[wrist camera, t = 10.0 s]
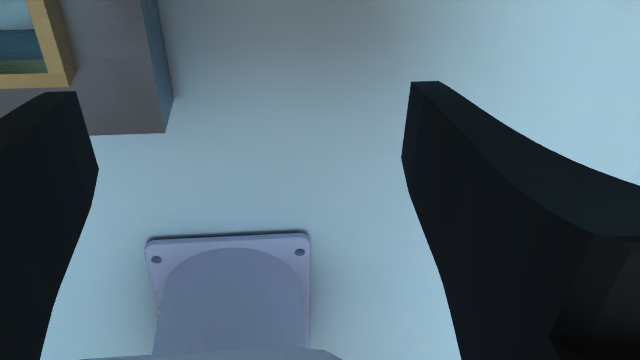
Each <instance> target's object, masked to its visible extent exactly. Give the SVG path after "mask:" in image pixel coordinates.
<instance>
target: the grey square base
mask: <svg viewBox="0 0 640 360" xmlns="http://www.w3.org/2000/svg"><path fill="white" fill-rule="evenodd" d="M25 1H26V5H27V8H28V11H29V14H30V17H31V20H32V23H33V26H34V30H15V31H0V118H1V117H3V116H4V115H6V114H8V113H9V112H11V111H12V110H14V109H16V108H17V107H19V106H20V105H22V104H24V103H26V102H27V101H29V100H31V99H32V98H34V97H36V96H38V95H40V94H42V93H45V92H58V91H76V93H77V96H78V100H79V103H80V107H81V110H82V114H83V117H84V120H85V124H86V127H87V131H88V134H89V136H90V135H119V134H149V133H165V131H166V128H167V124H168V120H169V116H170V112H171V108H172V104H173V100H174V98H173V93H172V87H171V81H170V75H169V69H168V63H167V57H166V51H165V46H164V40H163V34H162V28H161V22H160V16H159V10H158V5H157V0H25Z"/></svg>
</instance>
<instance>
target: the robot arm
mask: <svg viewBox="0 0 640 360" xmlns="http://www.w3.org/2000/svg"><path fill="white" fill-rule="evenodd" d="M401 159H402V164H403V169H404V173H405V178H406V182H407V187H408V191H409V194H410V197H411V200H412V203H413V205H414V208H415V211H416V213H417V216H418V219H419V221H420V224H421V226H422V229H423V232H424V234H425V237H426V239H427V242H428V244H429V247H430V250H431V252H432V255H433V257H434V260H435V263H436V265H437V268H438V271H439V274H440V277H441V280H442V283H443V286H444V290H445V294H446V298H447V302H448V305H449V309H450V313H451V317H452V321H453V325H454V330H455V334H456V338H457V342H458V347H459V351H460V355H461V360H640V186H639V185H636V184H633V183H630V182H627V181H624V180H621V179H618V178H615V177H613V176H610V175H607V174H605V173H602V172H599V171H597V170H594V169H591V168H589V167H587V166H584V165H582V164H579V163H577V162H575V161H573V160H571V159H568V158H566V157H564V156H562V155H560V154H558V153H556V152H554V151H551V150H549V149H547V148H545V147H543V146H542V145H540V144H538V143H536V142H534V141H532V140H531V139H529V138H527V137H525V136H524V135H522V134H520V133H518V132H517V131H515V130H513V129H512V128H510V127H508V126H507V125H505V124H504V123H502V122H500V121H499V120H497V119H496V118H494V117H493V116H491V115H490V114H488V113H487V112H485V111H484V110H482V109H481V108H479V107H478V106H476V105H475V104H473V103H472V102H470V101H469V100H467V99H466V98H465V97H463V96H462V95H460V94H459V93H457V92H456V91H454V90H453V89H451V88H450V87H448V86H446V85H445V84H443V83H441V82H439V81H421V82H411V87H410V94H409V102H408V110H407V117H406V125H405V132H404V140H403V148H402V155H401ZM98 170H99V168H98V165H97V161H96V158H95V155H94V151H93V148H92V144H91V141H90V137H89V134H88V131H87V127H86V124H85V120H84V117H83V114H82V110H81V107H80V103H79V100H78V96H77V93H76V91H58V92H45V93H42V94H40V95H38V96H36V97H34V98H32V99H31V100H29V101H27V102H26V103H24V104H22V105H20V106H19V107H17V108H16V109H14V110H12V111H11V112H9V113H8V114H6V115H4V116H3V117H1V118H0V360H40V357H41V352H42V348H43V344H44V340H45V336H46V332H47V328H48V324H49V321H50V317H51V313H52V309H53V306H54V303H55V300H56V297H57V294H58V291H59V288H60V285H61V283H62V280H63V278H64V275H65V273H66V270H67V268H68V265H69V263H70V260H71V257H72V255H73V252H74V250H75V247H76V245H77V242H78V240H79V237H80V235H81V232H82V229H83V227H84V224H85V221H86V219H87V216H88V213H89V211H90V208H91V204H92V200H93V195H94V191H95V186H96V181H97V176H98ZM297 249H303V250H300V251H299V250H297ZM144 253H145V257H146V261H147V264H148V268H149V272H150V276H151V280H152V284H153V288H154V292H155V295H156V299H157V303H158V307H159V311H160V313H159V318H158V324H157V329H156V335H155V340H154V346H153V352H152V355H143V356H127V357H112V358H96V359H81V360H342V359H340V358H338V357H337V356H335V355H333V354H331V353H329V352H327V351H325V350H317V349H309V310H310V241H309V237H308V236H307V235H306V234H304V233H289V234H268V235H248V236H227V237H207V238H186V239H166V240H152V241H149V242H147V244H146V245H145V249H144ZM154 256H159V257H160V258H156V257H154Z"/></svg>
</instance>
